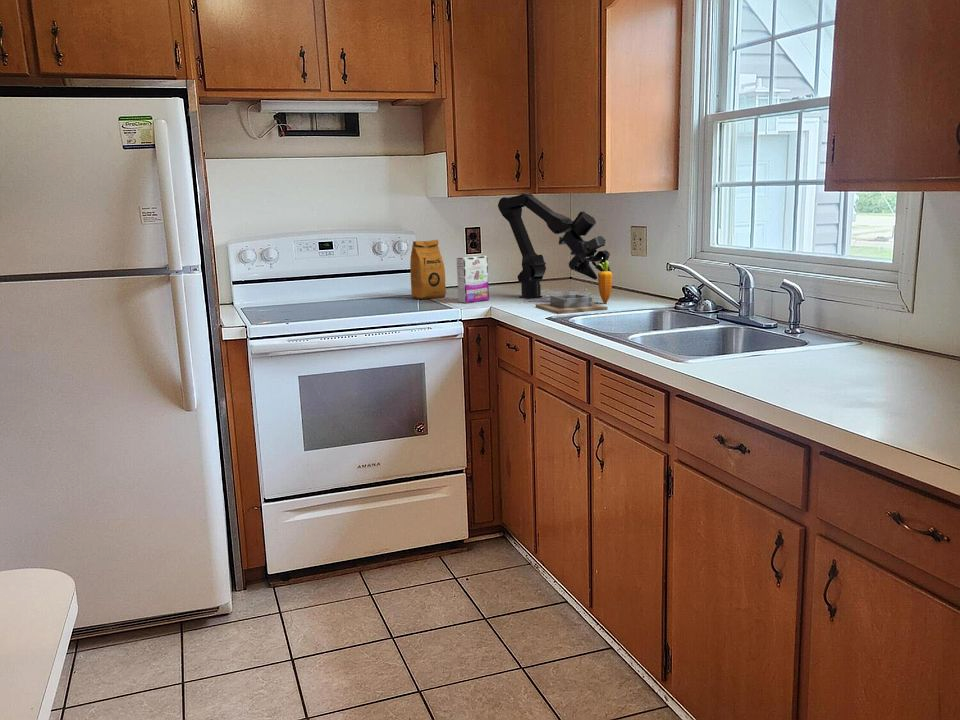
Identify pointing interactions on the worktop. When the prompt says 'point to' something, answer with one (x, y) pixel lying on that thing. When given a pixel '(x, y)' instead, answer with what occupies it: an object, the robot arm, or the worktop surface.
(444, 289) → the coffee package
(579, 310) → the socket base
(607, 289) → the carrot
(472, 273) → the candy bar box
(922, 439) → the worktop surface
